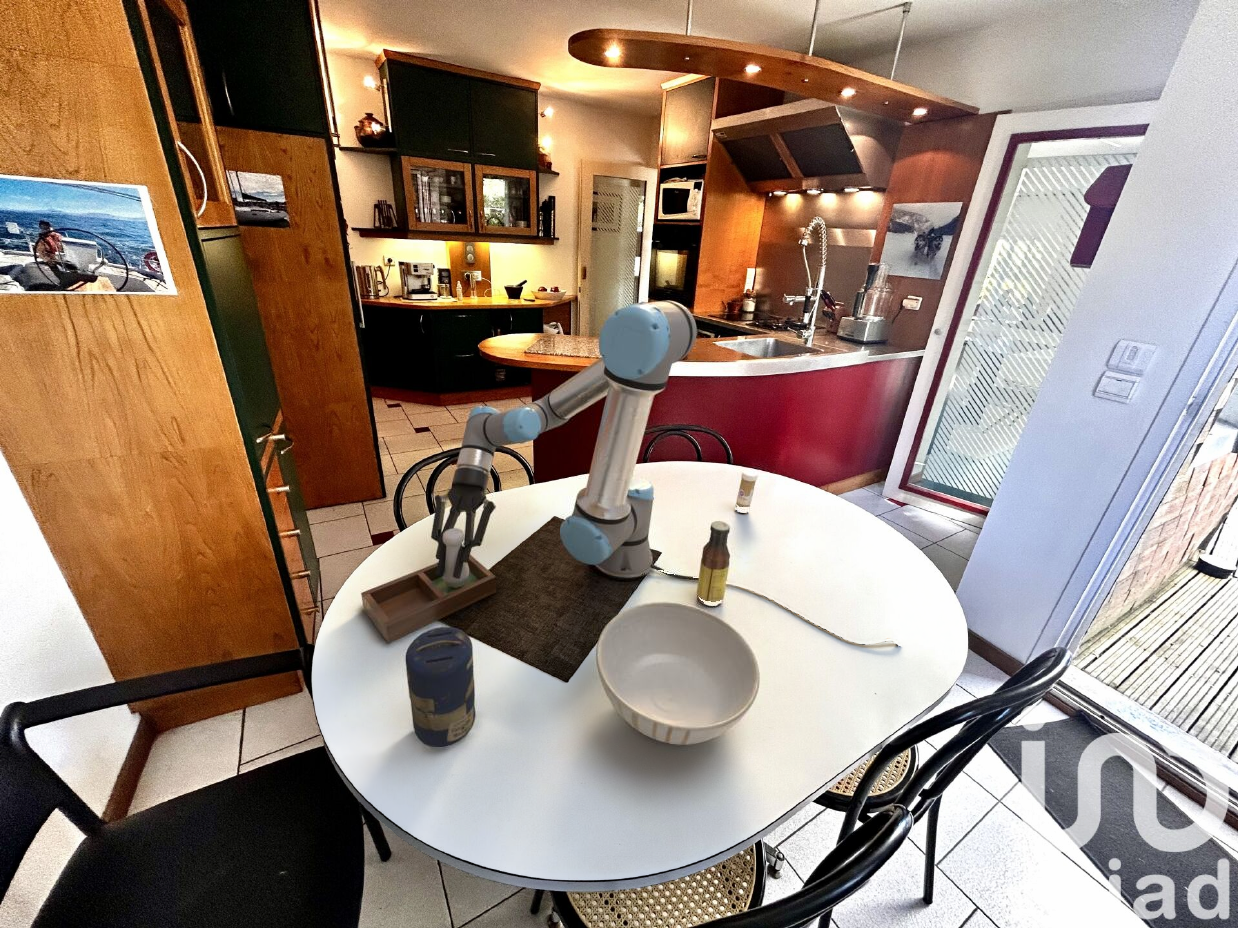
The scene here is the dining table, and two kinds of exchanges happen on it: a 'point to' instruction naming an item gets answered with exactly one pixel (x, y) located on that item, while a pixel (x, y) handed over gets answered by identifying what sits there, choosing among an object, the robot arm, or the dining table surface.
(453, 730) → the canister
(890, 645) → the dining table surface
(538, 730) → the dining table surface
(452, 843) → the dining table surface
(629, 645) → the decorative bowl
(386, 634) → the wooden compartment tray
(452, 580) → the salt shaker
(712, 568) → the sauce bottle
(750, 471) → the sprinkles bottle
